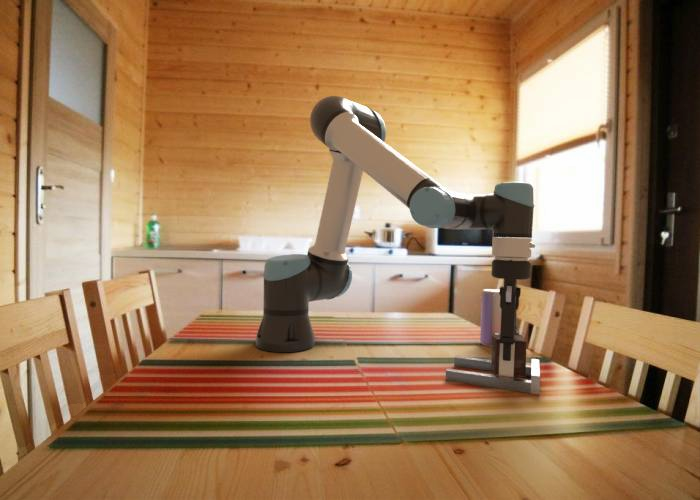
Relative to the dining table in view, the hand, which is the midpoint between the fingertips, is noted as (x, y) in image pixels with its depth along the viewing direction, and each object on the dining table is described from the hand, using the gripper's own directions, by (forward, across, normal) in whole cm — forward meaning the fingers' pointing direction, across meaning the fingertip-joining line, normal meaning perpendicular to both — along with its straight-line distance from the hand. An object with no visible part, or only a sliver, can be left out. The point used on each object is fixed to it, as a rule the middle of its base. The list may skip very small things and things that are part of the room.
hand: (507, 370), depth 87 cm
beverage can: (+2, +29, +6) cm, 30 cm away
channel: (+2, 0, +4) cm, 4 cm away
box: (+1, 0, 0) cm, 1 cm away
